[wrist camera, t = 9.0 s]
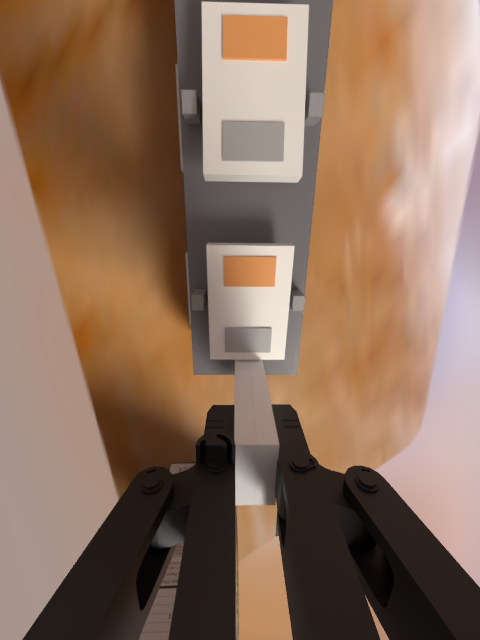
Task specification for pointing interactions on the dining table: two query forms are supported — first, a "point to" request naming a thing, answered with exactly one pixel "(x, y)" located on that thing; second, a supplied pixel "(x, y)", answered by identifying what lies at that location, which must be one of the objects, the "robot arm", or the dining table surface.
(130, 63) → the dining table surface
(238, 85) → the rocker middle
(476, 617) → the robot arm
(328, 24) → the power strip
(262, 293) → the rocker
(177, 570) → the coffee box
